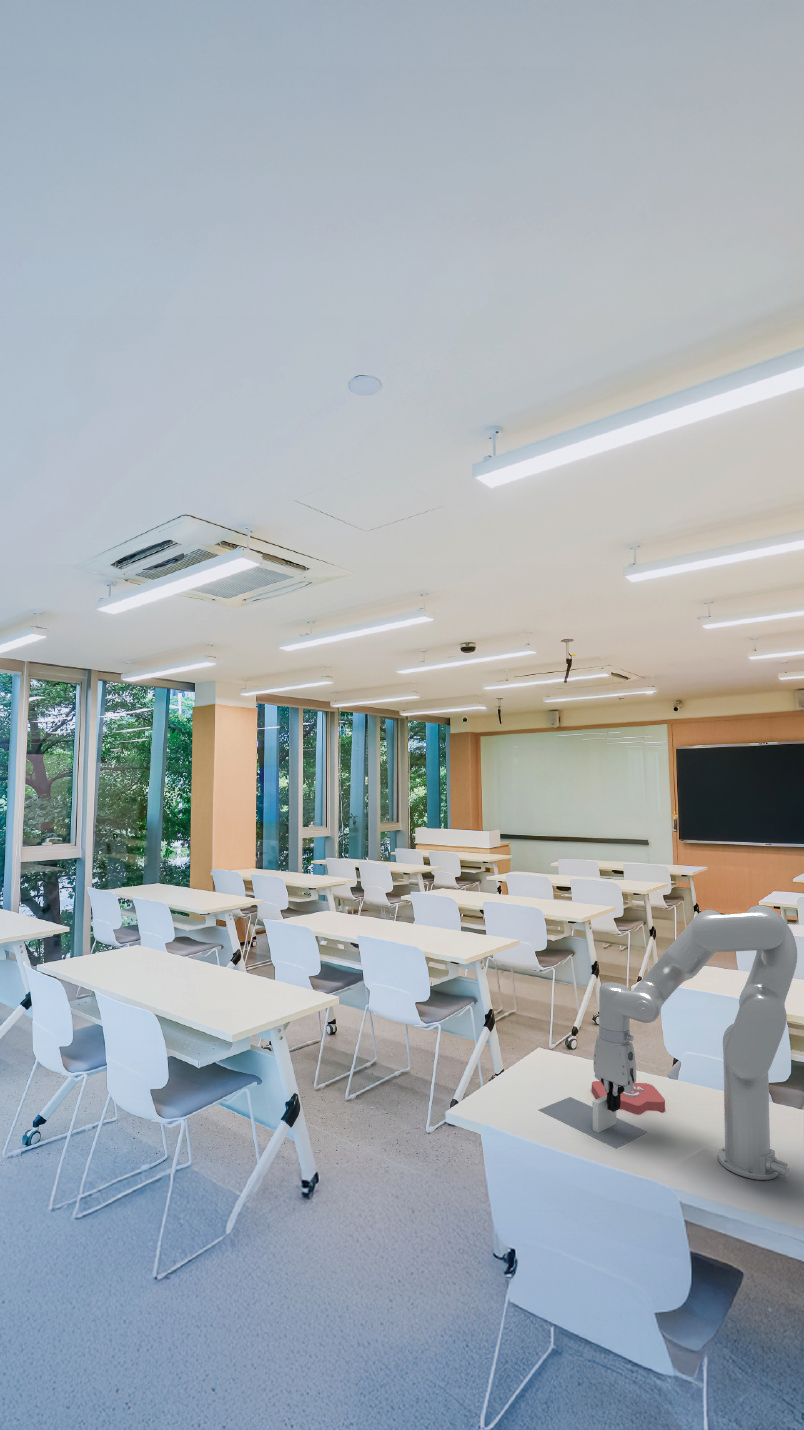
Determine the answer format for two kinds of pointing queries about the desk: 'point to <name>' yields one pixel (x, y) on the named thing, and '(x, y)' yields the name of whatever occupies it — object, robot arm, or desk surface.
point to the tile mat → (582, 1120)
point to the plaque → (635, 1098)
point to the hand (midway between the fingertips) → (613, 1109)
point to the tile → (602, 1115)
